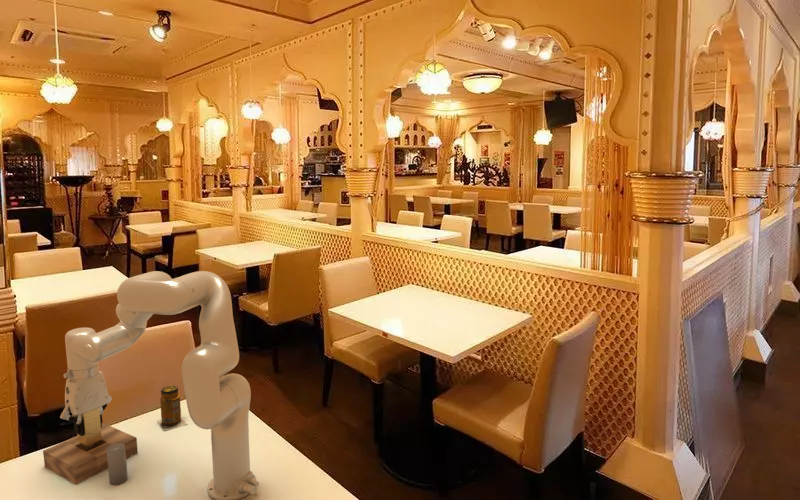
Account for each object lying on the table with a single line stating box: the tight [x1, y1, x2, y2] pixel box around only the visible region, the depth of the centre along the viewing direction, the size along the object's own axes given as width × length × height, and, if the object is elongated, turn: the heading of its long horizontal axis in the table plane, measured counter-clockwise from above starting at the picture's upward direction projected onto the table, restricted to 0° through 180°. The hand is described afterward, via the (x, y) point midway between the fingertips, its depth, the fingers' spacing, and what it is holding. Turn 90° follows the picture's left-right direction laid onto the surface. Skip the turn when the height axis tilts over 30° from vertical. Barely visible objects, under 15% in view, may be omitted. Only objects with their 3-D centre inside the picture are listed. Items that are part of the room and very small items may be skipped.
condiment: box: [156, 385, 187, 431], centre depth 174 cm, size 7×8×12 cm
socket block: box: [42, 423, 139, 485], centre depth 152 cm, size 16×18×5 cm
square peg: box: [76, 408, 102, 446], centre depth 151 cm, size 4×4×10 cm
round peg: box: [107, 443, 129, 486], centre depth 143 cm, size 4×4×10 cm
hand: (89, 430), depth 151 cm, fingers closed on square peg, 4 cm apart
